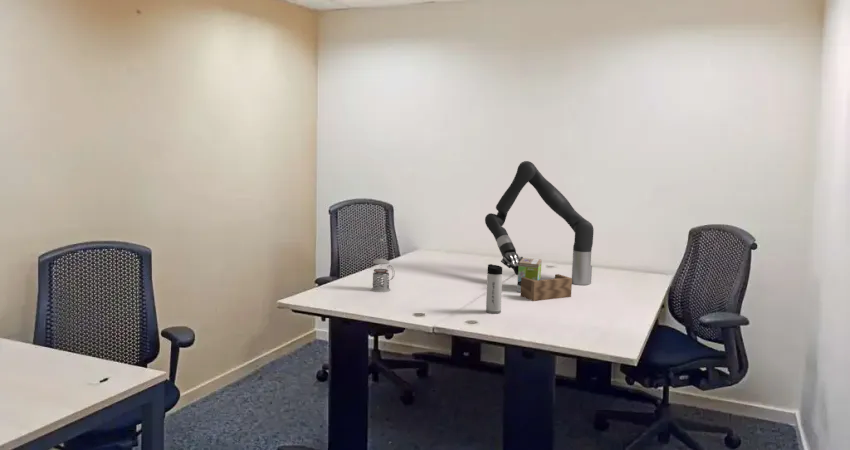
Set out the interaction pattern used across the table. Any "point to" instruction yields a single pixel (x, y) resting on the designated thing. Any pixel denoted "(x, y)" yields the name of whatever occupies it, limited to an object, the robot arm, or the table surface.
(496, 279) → the travel mug
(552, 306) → the table surface
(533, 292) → the display nook
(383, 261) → the french press
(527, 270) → the tea box
